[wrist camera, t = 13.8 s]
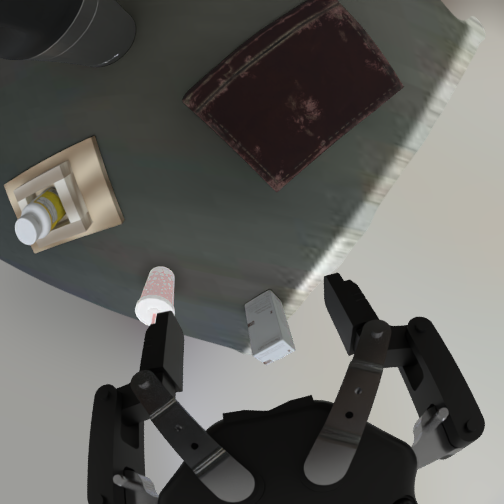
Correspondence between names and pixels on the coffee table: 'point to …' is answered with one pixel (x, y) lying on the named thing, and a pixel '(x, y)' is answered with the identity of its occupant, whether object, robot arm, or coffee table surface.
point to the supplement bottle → (40, 216)
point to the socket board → (86, 183)
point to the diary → (294, 89)
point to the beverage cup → (156, 295)
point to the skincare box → (268, 328)
